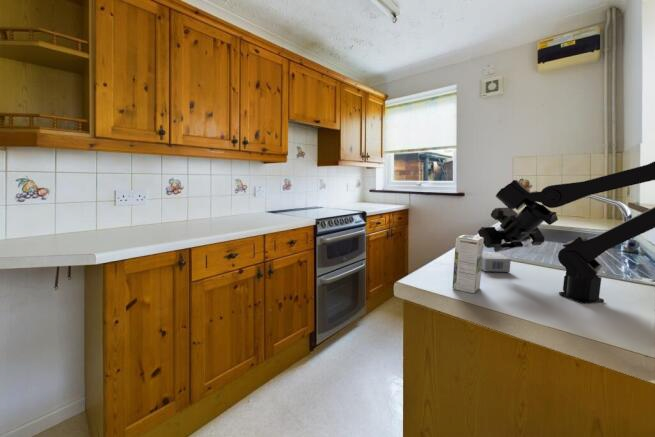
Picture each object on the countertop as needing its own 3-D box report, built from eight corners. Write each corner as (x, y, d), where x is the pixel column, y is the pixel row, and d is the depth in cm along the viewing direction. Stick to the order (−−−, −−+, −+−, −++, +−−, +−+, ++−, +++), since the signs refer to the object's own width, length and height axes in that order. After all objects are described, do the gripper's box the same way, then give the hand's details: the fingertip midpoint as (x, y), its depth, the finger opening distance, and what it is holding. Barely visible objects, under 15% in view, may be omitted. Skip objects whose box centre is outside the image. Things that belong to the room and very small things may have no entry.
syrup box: (458, 283, 87) (461, 233, 85) (480, 288, 83) (484, 236, 82) (452, 289, 83) (454, 237, 81) (475, 294, 79) (478, 239, 77)
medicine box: (510, 272, 96) (497, 264, 105) (511, 258, 96) (498, 252, 104) (484, 271, 97) (474, 264, 106) (485, 258, 96) (474, 251, 105)
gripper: (539, 198, 91) (508, 229, 103) (484, 199, 87) (458, 231, 100) (561, 228, 84) (525, 257, 96) (502, 231, 81) (473, 260, 93)
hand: (495, 250), depth 96 cm, fingers closed
